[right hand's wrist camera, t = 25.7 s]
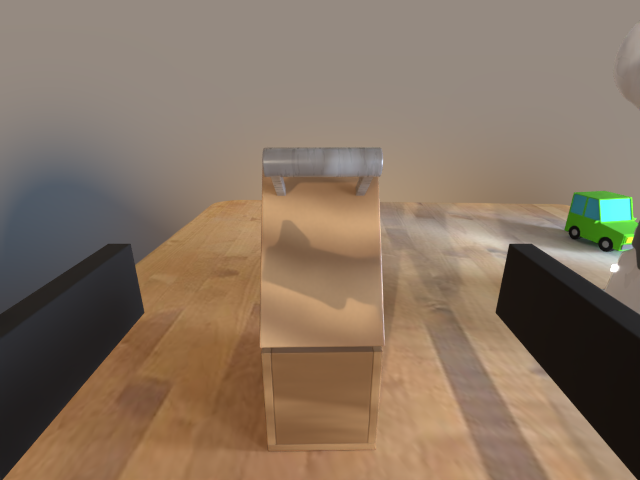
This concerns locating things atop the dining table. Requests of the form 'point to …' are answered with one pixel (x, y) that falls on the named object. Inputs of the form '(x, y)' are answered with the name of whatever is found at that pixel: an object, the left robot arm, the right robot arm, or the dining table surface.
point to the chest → (321, 397)
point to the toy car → (602, 219)
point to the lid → (321, 248)
